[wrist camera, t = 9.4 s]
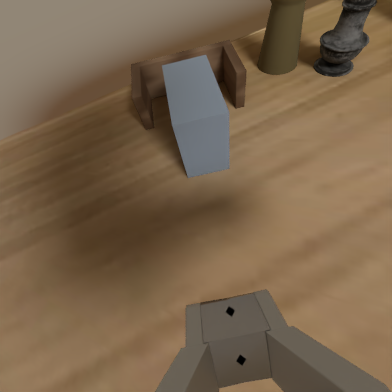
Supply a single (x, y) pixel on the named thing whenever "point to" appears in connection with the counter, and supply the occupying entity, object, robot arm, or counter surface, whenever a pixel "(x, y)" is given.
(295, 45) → the olive pawn
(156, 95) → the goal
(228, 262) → the counter surface
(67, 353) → the counter surface
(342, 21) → the grey chess bishop
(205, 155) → the block
